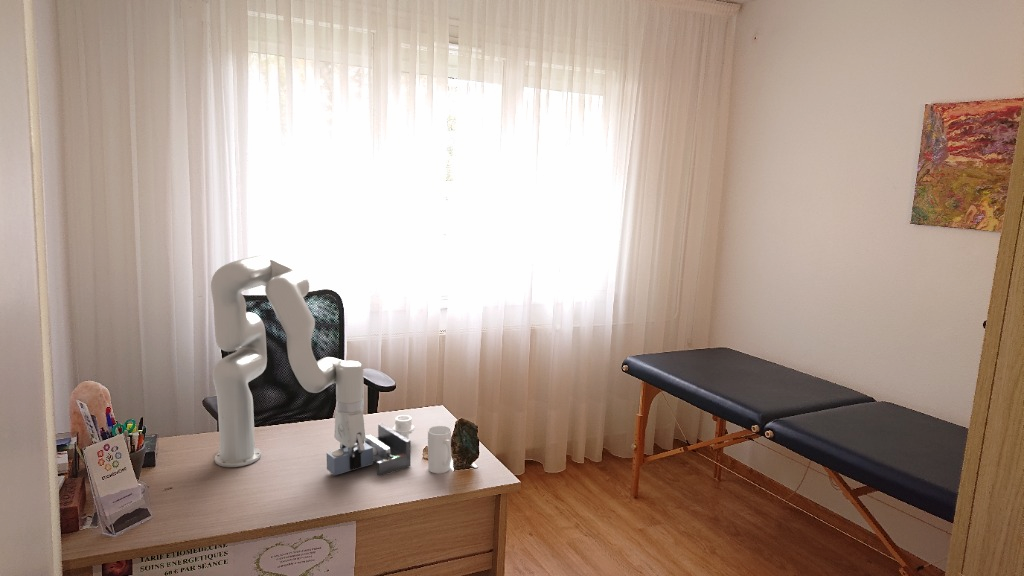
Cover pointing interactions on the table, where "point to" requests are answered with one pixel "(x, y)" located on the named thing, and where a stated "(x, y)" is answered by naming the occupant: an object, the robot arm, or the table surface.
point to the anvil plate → (378, 448)
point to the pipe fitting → (403, 425)
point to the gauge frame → (393, 451)
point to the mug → (439, 449)
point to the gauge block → (348, 459)
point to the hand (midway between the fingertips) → (350, 464)
